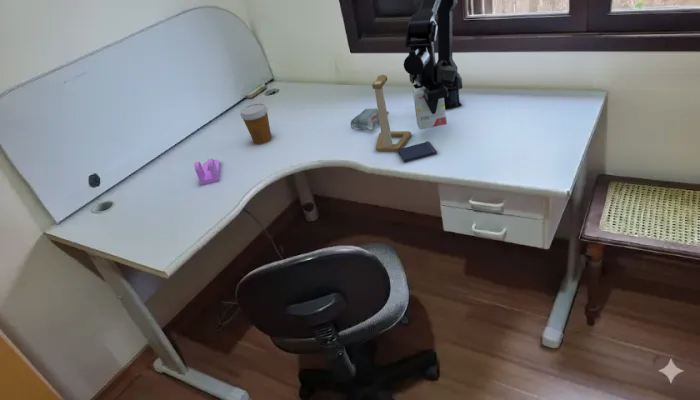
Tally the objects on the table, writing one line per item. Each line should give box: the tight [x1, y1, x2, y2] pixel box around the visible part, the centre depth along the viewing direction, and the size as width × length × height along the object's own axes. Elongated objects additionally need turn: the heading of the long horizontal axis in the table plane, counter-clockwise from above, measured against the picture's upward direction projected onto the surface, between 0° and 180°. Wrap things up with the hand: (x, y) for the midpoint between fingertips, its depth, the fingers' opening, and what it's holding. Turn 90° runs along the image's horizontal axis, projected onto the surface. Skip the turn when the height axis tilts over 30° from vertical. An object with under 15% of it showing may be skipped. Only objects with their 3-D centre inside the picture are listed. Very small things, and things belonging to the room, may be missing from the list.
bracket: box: [193, 158, 221, 186], centre depth 166 cm, size 13×6×7 cm, turn 9°
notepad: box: [397, 140, 438, 163], centre depth 154 cm, size 10×7×1 cm
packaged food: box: [350, 107, 390, 131], centre depth 174 cm, size 9×12×5 cm
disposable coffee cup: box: [239, 102, 272, 145], centre depth 179 cm, size 10×10×12 cm
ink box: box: [412, 87, 447, 131], centre depth 158 cm, size 9×5×12 cm, turn 95°
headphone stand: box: [371, 74, 412, 153], centre depth 156 cm, size 10×11×22 cm
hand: (430, 110), depth 159 cm, fingers closed on ink box, 5 cm apart
